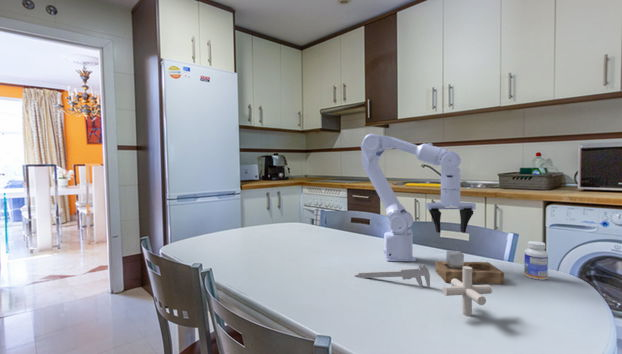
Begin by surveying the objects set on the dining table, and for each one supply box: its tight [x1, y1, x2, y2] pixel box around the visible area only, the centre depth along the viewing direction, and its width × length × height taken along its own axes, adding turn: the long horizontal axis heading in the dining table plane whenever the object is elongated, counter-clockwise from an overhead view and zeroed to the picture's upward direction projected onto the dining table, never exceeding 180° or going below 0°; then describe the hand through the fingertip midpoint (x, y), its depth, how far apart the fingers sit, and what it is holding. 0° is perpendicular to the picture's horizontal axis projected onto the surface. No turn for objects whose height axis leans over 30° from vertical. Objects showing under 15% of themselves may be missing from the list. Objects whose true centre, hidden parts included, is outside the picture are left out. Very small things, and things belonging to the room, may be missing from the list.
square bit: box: [445, 250, 465, 270], centre depth 89 cm, size 4×4×7 cm
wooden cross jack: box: [441, 266, 493, 317], centre depth 67 cm, size 10×10×10 cm
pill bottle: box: [523, 240, 549, 281], centre depth 88 cm, size 5×5×10 cm
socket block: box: [435, 260, 505, 285], centre depth 89 cm, size 15×9×3 cm, turn 85°
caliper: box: [354, 263, 431, 289], centre depth 86 cm, size 20×1×6 cm, turn 63°
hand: (450, 232), depth 100 cm, fingers open, 7 cm apart
